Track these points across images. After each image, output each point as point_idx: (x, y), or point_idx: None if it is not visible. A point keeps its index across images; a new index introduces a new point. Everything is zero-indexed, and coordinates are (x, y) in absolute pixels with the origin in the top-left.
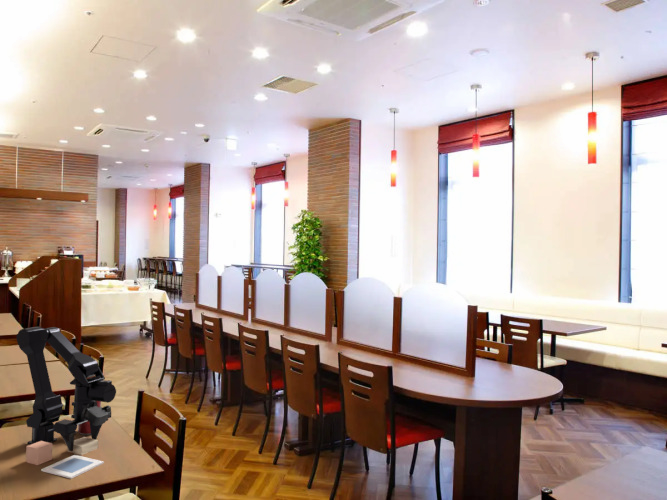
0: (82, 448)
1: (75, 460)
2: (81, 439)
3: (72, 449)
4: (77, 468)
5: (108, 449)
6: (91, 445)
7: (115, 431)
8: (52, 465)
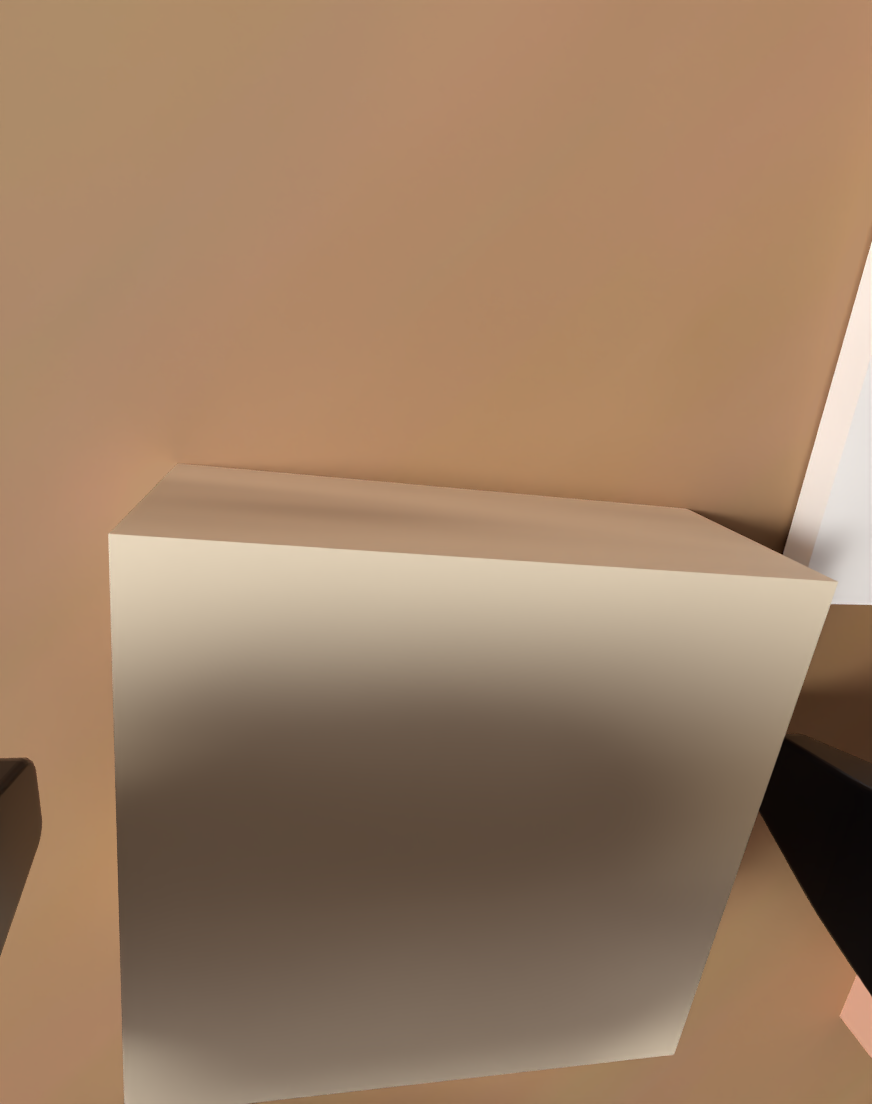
0: (775, 557)
1: None
2: (342, 1012)
3: (814, 748)
4: None
5: (88, 52)
6: (438, 530)
7: None
8: None
